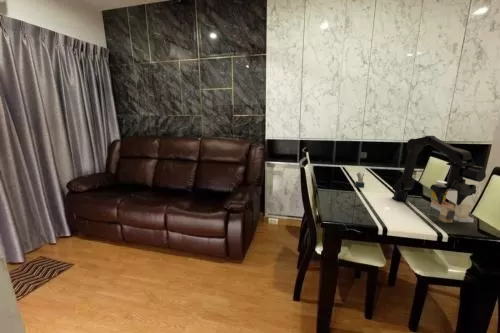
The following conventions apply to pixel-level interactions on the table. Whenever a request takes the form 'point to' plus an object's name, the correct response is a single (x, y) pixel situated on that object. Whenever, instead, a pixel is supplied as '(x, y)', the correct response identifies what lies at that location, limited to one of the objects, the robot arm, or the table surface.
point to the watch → (360, 180)
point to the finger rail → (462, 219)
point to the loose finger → (447, 214)
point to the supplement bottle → (434, 192)
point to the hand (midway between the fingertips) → (448, 204)
